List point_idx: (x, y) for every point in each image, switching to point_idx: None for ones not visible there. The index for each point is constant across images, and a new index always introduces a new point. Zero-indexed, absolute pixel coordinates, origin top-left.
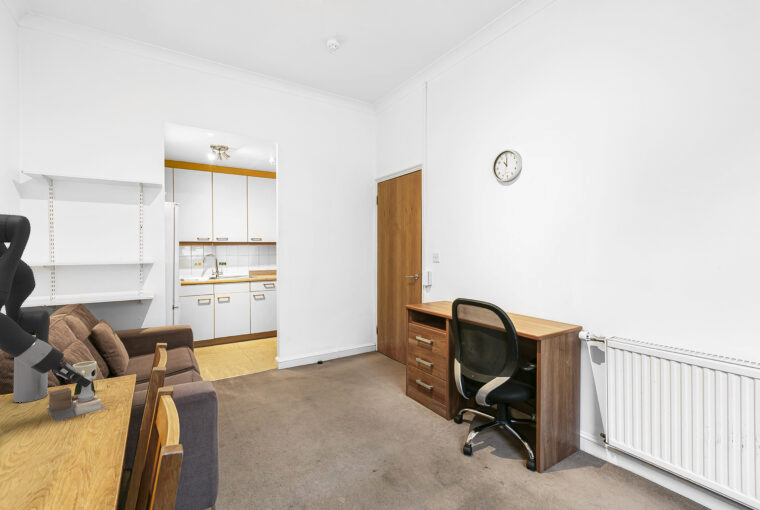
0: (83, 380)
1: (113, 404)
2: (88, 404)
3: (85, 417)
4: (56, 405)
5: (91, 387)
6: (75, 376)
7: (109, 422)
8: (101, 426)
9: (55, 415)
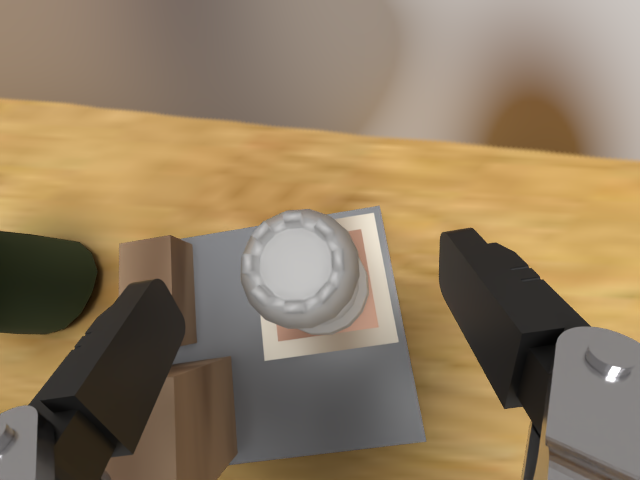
0: (550, 306)
1: (291, 177)
2: (384, 279)
3: (399, 298)
4: (221, 444)
5: (39, 245)
6: (140, 379)
7: (561, 209)
8: (598, 243)
9: (312, 438)
